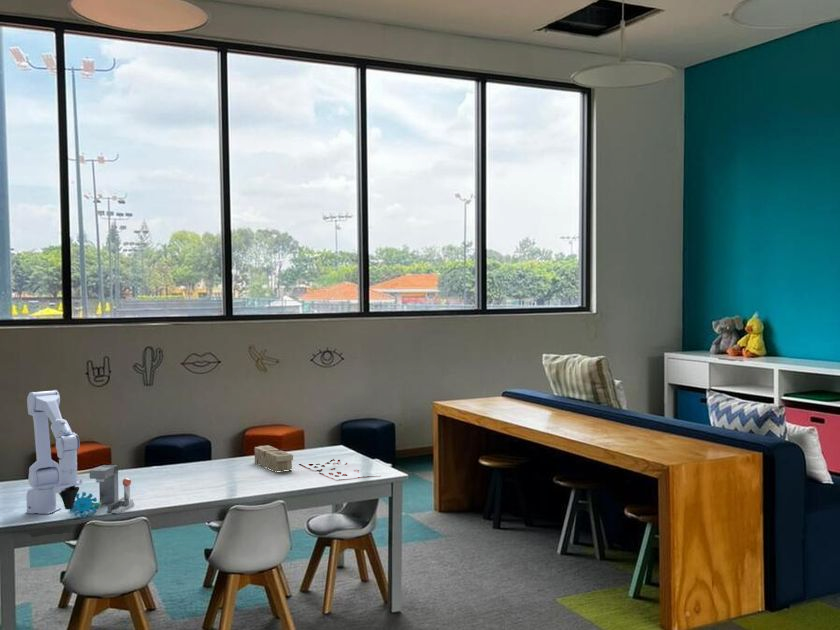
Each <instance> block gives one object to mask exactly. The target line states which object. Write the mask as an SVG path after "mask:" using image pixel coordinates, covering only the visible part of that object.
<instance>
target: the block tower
mask: <svg viewBox="0 0 840 630" xmlns="http://www.w3.org/2000/svg"><path fill="white" fill-rule="evenodd" d="M293 460H294V455H293V454H292V453H288V452H286V451H284V450H279V449H278V448H276V447H274V446H271V445H258V446H254V464H256V463H258V464H260V465H262V466H264V467H267V468H269V469H271V470H273V471H276V472H277V471H284V470H290V469H292V470H293V464H292V463H293ZM258 464H257V465H258ZM260 465H259V466H260ZM262 466H261V467H262ZM264 467H263V468H264ZM273 471H272V472H273Z"/></svg>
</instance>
